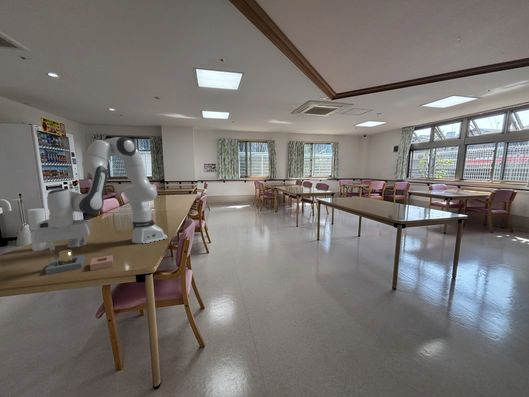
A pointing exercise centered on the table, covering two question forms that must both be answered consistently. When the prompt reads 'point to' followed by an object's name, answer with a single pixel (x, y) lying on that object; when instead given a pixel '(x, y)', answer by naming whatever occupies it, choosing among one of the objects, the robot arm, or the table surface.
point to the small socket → (101, 262)
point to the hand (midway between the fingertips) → (65, 248)
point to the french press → (73, 241)
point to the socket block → (55, 268)
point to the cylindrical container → (34, 219)
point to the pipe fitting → (66, 257)
